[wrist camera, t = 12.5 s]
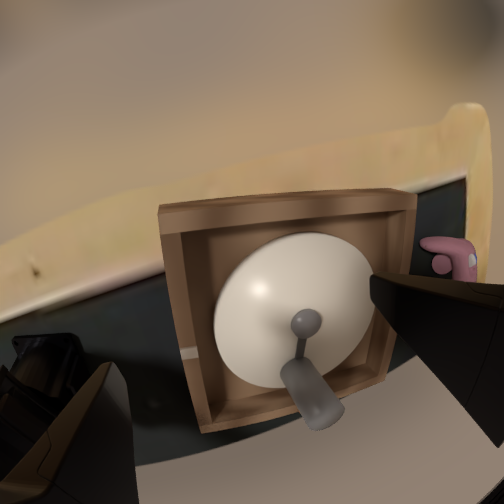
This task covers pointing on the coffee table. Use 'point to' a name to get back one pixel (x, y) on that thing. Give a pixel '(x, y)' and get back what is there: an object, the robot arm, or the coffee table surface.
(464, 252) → the video game controller
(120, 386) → the robot arm
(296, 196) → the dial frame
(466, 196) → the coffee table surface
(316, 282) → the dial
